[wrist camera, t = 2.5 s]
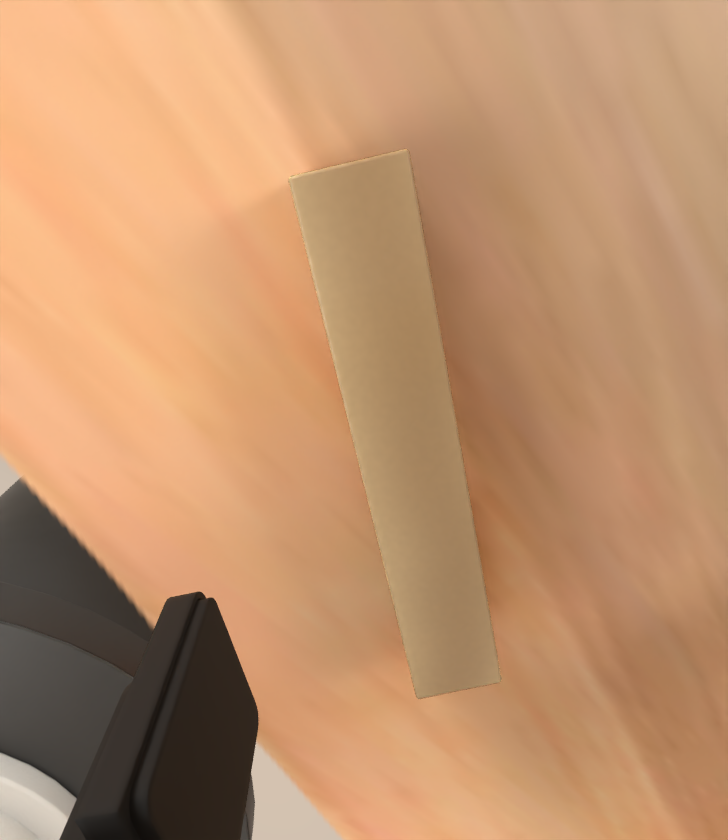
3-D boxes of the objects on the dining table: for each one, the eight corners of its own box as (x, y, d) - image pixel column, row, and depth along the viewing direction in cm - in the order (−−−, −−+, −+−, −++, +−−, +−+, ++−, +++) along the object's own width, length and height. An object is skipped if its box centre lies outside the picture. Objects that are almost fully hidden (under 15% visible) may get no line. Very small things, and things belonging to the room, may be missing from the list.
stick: (406, 635, 22) (417, 700, 19) (295, 178, 16) (286, 176, 13) (481, 620, 22) (502, 683, 19) (396, 154, 16) (409, 147, 13)
